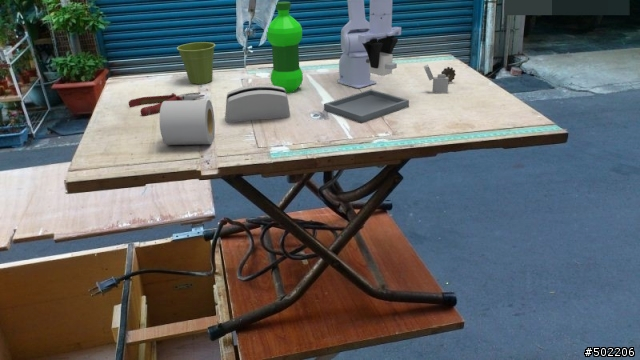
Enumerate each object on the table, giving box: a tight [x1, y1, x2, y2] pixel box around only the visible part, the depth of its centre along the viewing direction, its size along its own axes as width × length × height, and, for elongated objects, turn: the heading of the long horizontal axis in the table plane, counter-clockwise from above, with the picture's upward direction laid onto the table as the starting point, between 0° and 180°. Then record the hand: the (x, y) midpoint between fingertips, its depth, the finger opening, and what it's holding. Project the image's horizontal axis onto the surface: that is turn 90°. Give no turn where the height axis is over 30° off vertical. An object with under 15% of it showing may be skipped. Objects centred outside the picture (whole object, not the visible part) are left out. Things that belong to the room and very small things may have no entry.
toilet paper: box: [159, 99, 216, 146], centre depth 122 cm, size 10×10×10 cm
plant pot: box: [176, 41, 216, 85], centre depth 168 cm, size 12×12×11 cm
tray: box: [323, 89, 410, 124], centre depth 143 cm, size 14×18×2 cm
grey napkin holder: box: [224, 84, 291, 123], centre depth 137 cm, size 17×5×10 cm, turn 101°
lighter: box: [423, 64, 449, 94], centre depth 153 cm, size 7×2×8 cm, turn 85°
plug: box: [366, 52, 398, 77], centre depth 143 cm, size 9×4×5 cm, turn 42°
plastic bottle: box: [266, 0, 304, 93], centre depth 155 cm, size 10×10×25 cm
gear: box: [440, 66, 457, 84], centre depth 161 cm, size 5×1×5 cm, turn 108°
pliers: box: [128, 91, 205, 117], centre depth 151 cm, size 12×20×3 cm, turn 127°
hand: (379, 66), depth 143 cm, fingers closed on plug, 3 cm apart
